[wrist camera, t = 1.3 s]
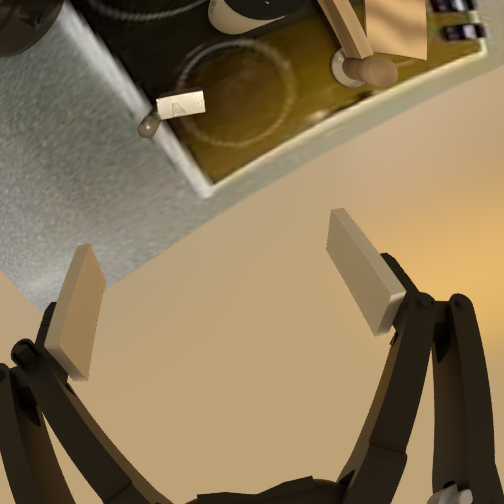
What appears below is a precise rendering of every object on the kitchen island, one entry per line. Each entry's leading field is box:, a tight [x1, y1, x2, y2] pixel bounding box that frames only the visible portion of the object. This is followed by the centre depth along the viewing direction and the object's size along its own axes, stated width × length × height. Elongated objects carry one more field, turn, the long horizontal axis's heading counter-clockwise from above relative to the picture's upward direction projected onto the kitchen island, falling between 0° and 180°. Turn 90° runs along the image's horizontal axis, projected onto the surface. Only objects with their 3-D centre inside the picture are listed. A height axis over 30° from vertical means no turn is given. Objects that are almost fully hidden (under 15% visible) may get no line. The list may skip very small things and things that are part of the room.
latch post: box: [138, 86, 205, 138], centre depth 30 cm, size 3×7×11 cm, turn 95°
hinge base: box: [330, 47, 365, 87], centre depth 34 cm, size 6×6×1 cm
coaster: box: [363, 0, 427, 60], centre depth 30 cm, size 11×11×1 cm
